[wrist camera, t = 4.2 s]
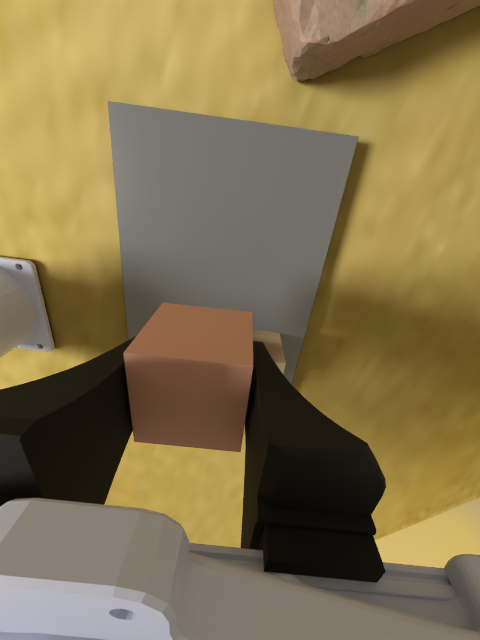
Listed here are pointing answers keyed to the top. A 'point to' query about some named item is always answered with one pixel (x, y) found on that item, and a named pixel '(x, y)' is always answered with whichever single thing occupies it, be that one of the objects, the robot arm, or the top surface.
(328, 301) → the top surface
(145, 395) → the terracotta block
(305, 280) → the plate
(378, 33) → the brick
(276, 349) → the maple block
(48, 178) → the top surface
